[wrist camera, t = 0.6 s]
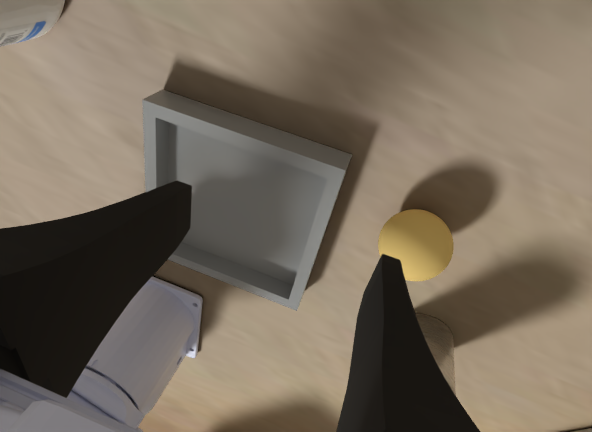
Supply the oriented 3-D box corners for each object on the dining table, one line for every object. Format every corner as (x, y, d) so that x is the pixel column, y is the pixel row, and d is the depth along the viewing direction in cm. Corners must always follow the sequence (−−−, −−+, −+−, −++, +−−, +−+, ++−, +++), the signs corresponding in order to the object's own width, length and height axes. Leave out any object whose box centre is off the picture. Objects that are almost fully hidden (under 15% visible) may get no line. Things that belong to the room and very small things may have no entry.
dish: (304, 291, 29) (296, 310, 27) (162, 236, 30) (147, 251, 28) (352, 154, 21) (345, 170, 20) (162, 89, 23) (142, 99, 21)
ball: (434, 259, 24) (433, 306, 21) (373, 237, 24) (363, 280, 21) (464, 210, 21) (470, 254, 18) (396, 186, 22) (389, 226, 19)
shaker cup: (436, 365, 29) (436, 483, 23) (376, 341, 30) (360, 450, 23) (467, 328, 26) (477, 451, 20) (400, 303, 27) (388, 415, 20)
